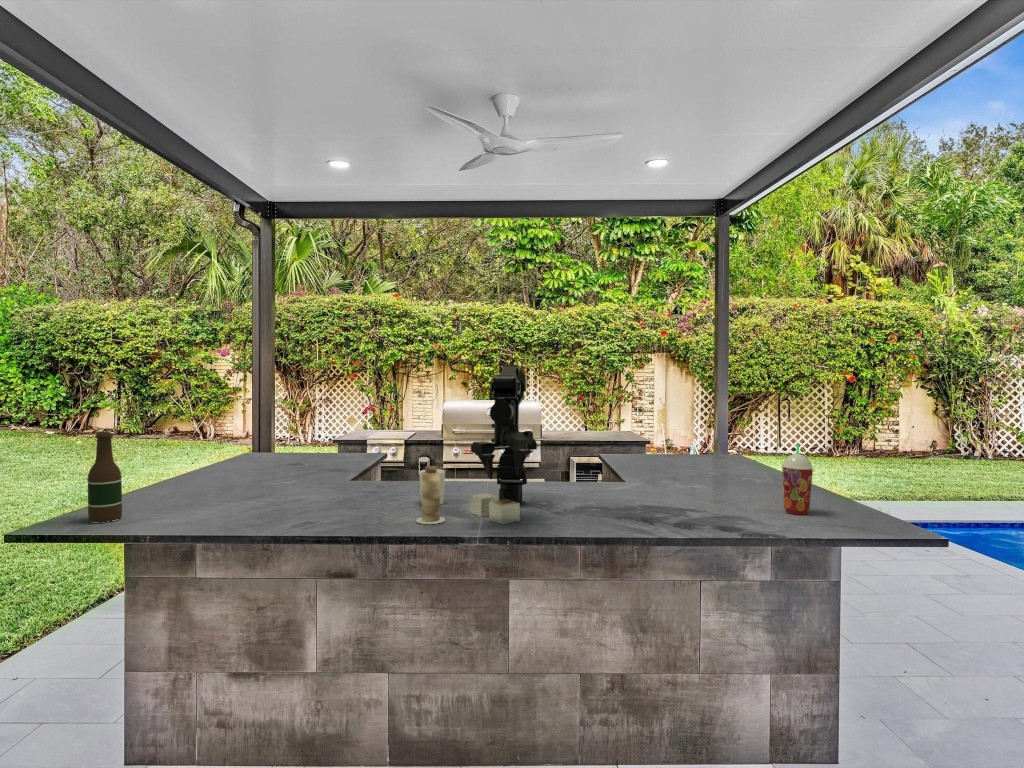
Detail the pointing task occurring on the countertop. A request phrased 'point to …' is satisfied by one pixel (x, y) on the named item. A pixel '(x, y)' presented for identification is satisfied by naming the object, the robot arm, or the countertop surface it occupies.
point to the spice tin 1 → (481, 503)
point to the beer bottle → (104, 483)
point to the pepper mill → (430, 494)
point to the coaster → (430, 522)
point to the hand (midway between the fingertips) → (504, 477)
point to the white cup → (442, 484)
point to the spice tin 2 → (504, 511)
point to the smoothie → (797, 483)
